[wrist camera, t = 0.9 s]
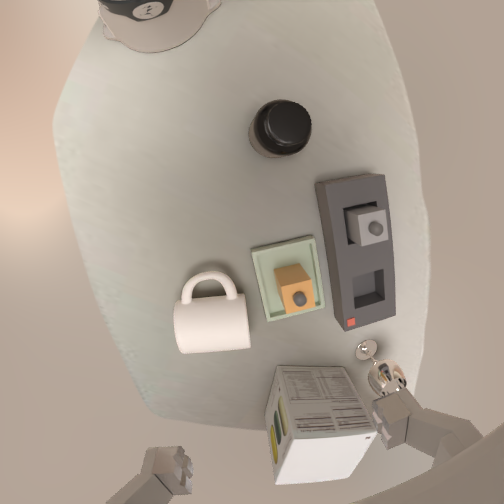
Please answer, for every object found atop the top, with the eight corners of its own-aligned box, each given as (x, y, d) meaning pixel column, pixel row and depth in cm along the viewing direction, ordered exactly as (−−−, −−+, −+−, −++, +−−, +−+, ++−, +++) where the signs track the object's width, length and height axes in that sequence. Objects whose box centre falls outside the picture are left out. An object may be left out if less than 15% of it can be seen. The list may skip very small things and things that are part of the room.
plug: (273, 269, 45) (282, 290, 37) (299, 263, 45) (313, 282, 37) (278, 293, 46) (287, 318, 38) (303, 287, 46) (317, 310, 38)
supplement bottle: (246, 156, 41) (252, 150, 29) (249, 110, 39) (257, 87, 27) (294, 160, 41) (318, 157, 30) (297, 115, 40) (322, 95, 28)
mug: (248, 330, 48) (252, 358, 40) (188, 336, 47) (181, 364, 40) (240, 259, 45) (243, 278, 37) (174, 266, 44) (163, 286, 37)
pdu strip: (314, 183, 42) (325, 185, 37) (369, 173, 42) (385, 174, 37) (334, 317, 48) (345, 332, 43) (382, 302, 48) (396, 315, 43)
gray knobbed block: (338, 208, 42) (361, 217, 34) (363, 203, 42) (389, 210, 34) (342, 234, 43) (365, 248, 35) (366, 229, 43) (392, 241, 35)
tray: (250, 249, 44) (251, 252, 42) (311, 235, 44) (314, 238, 42) (265, 316, 47) (267, 322, 45) (321, 302, 47) (325, 307, 45)
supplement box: (275, 363, 50) (293, 438, 33) (344, 365, 51) (380, 431, 34) (263, 415, 53) (273, 485, 36) (325, 414, 55) (349, 478, 38)
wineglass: (347, 350, 50) (372, 391, 39) (372, 330, 50) (403, 368, 38) (359, 367, 52) (384, 407, 40) (384, 349, 51) (413, 386, 40)
